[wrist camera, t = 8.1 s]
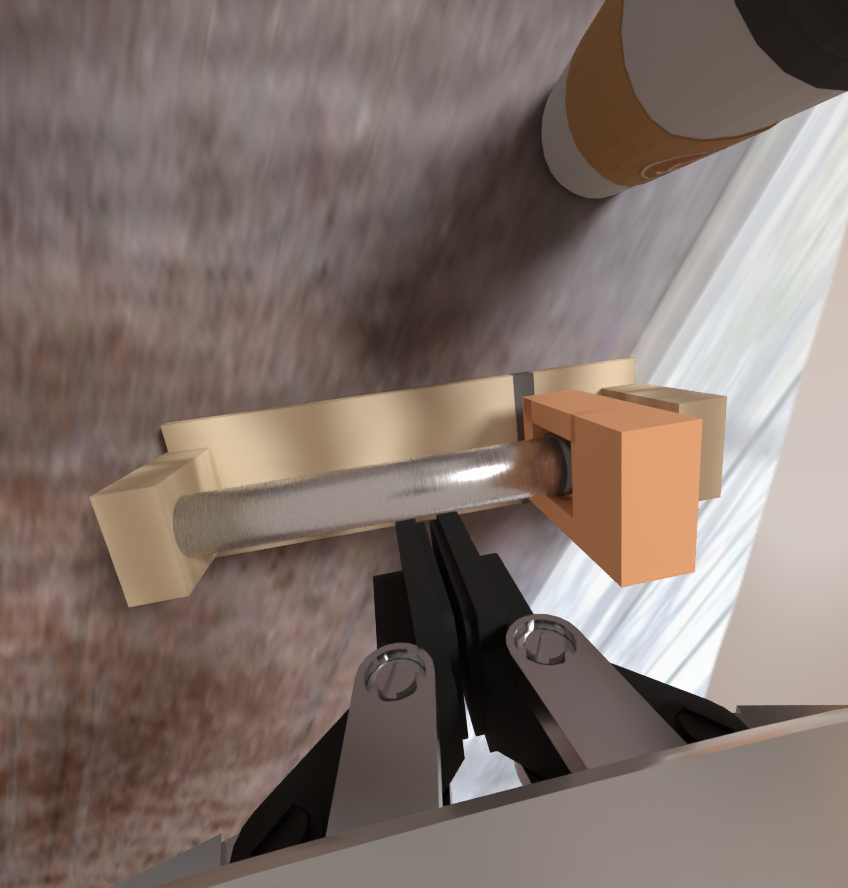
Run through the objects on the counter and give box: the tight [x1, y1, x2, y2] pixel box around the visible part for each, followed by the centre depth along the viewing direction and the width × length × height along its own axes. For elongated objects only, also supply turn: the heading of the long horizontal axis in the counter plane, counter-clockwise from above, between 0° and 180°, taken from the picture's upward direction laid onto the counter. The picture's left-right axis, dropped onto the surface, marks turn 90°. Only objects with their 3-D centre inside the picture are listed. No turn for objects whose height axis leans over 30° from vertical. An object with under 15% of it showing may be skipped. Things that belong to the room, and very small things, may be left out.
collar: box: [522, 389, 703, 587], centre depth 19 cm, size 3×6×9 cm, turn 7°
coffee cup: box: [541, 0, 848, 198], centre depth 15 cm, size 8×8×15 cm
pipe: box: [173, 432, 573, 557], centre depth 20 cm, size 25×3×3 cm, turn 97°
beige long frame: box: [90, 358, 727, 607], centre depth 22 cm, size 27×8×7 cm, turn 97°
